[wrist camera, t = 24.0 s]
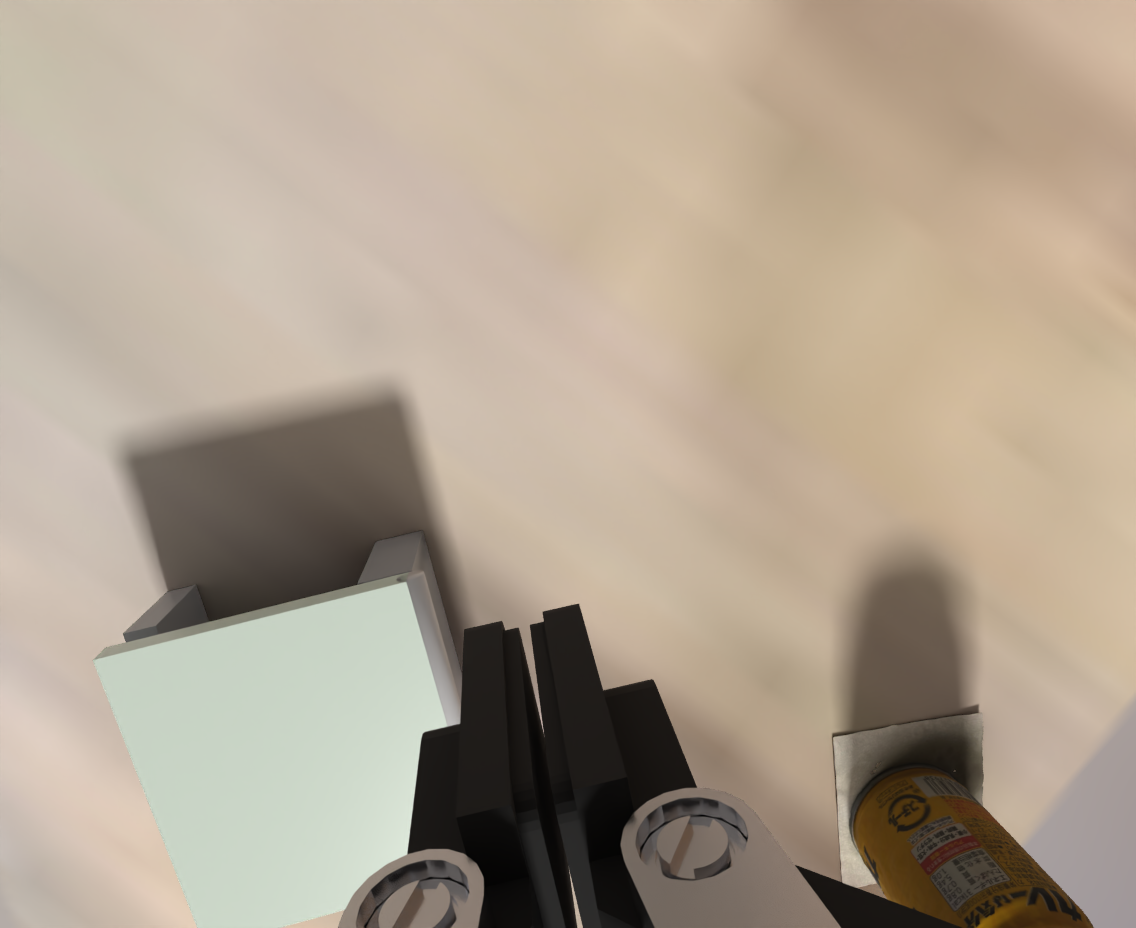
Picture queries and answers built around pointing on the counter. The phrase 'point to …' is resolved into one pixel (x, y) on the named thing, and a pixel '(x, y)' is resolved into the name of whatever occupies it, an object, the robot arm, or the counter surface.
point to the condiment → (937, 830)
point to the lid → (285, 745)
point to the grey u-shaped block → (383, 562)
